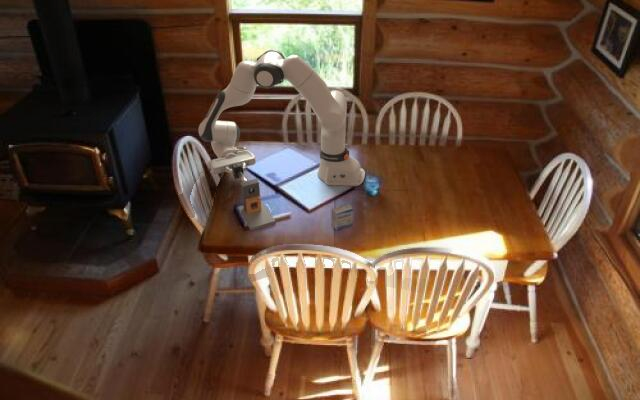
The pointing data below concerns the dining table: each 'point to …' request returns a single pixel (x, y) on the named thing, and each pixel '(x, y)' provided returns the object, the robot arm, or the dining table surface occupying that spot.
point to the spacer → (253, 200)
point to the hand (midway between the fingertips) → (238, 171)
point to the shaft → (239, 172)
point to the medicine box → (341, 216)
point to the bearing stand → (255, 218)
